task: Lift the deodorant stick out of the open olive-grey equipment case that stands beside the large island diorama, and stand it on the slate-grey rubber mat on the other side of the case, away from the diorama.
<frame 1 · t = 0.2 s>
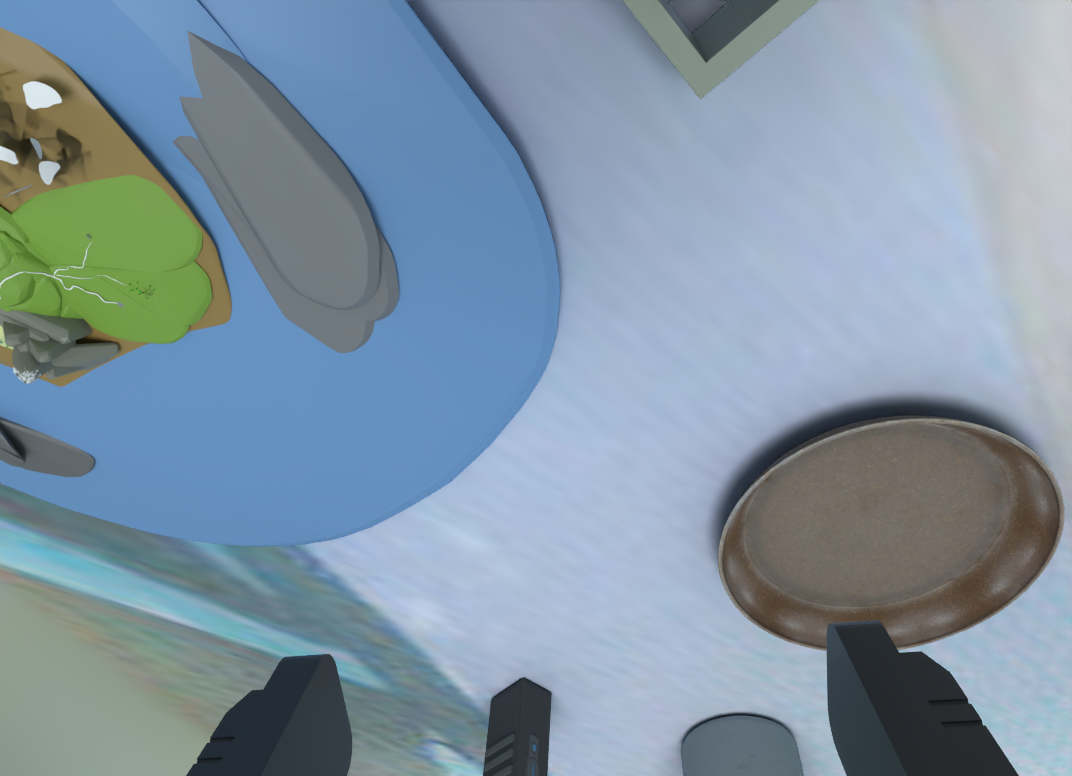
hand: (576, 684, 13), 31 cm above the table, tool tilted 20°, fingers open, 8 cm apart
water bottle: (739, 740, 69), on the table
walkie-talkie: (520, 692, 66), on the table
plant saucer: (870, 512, 53), on the table
island diorama: (140, 251, 44), on the table
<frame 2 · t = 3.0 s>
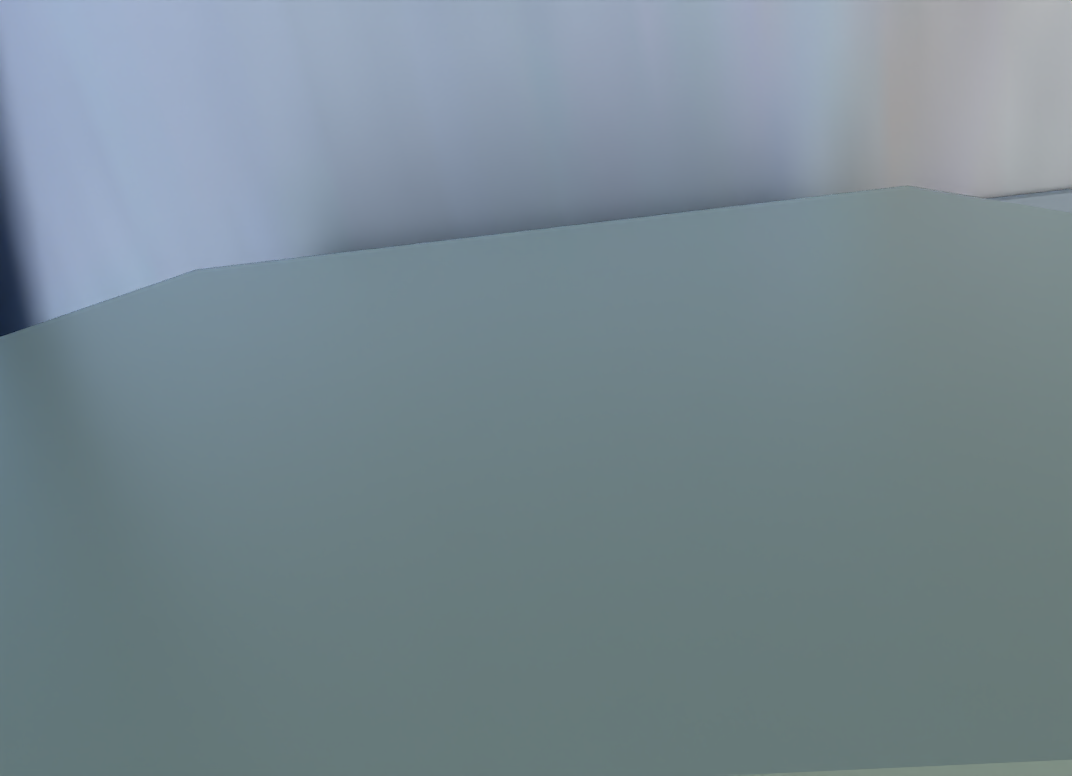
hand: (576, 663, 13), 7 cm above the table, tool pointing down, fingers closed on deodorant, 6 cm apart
case: (583, 485, 20), on the table
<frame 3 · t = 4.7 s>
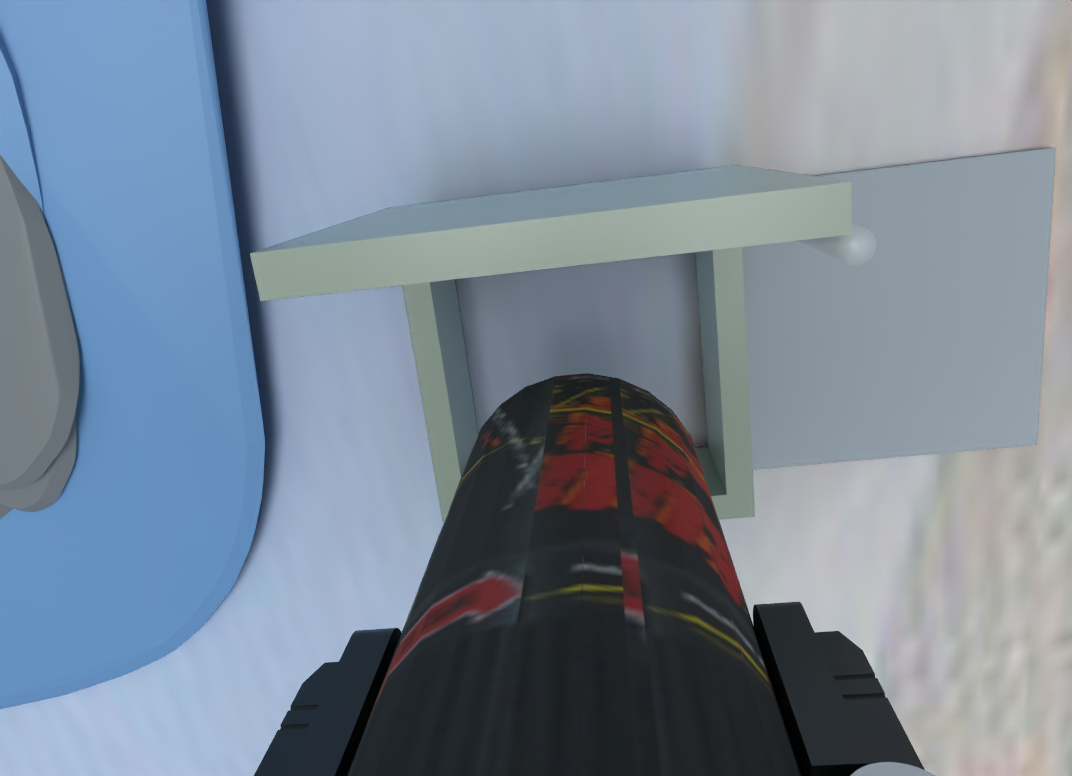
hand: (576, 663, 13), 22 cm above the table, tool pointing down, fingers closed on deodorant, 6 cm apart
case: (582, 348, 34), on the table
deodorant: (583, 482, 20), point 14 cm above the table, touching gripper
mat: (884, 317, 33), on the table
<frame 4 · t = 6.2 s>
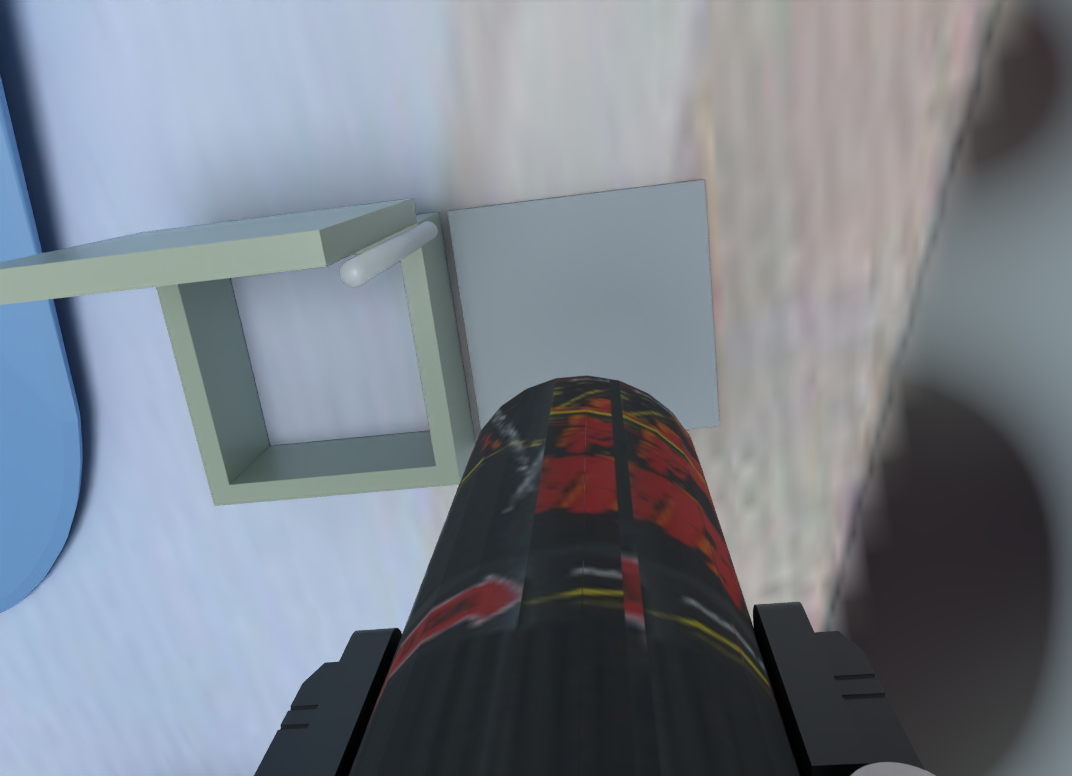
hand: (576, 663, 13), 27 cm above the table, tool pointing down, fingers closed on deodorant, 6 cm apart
case: (342, 345, 40), on the table
deodorant: (583, 484, 20), point 20 cm above the table, touching gripper
mat: (587, 319, 39), on the table
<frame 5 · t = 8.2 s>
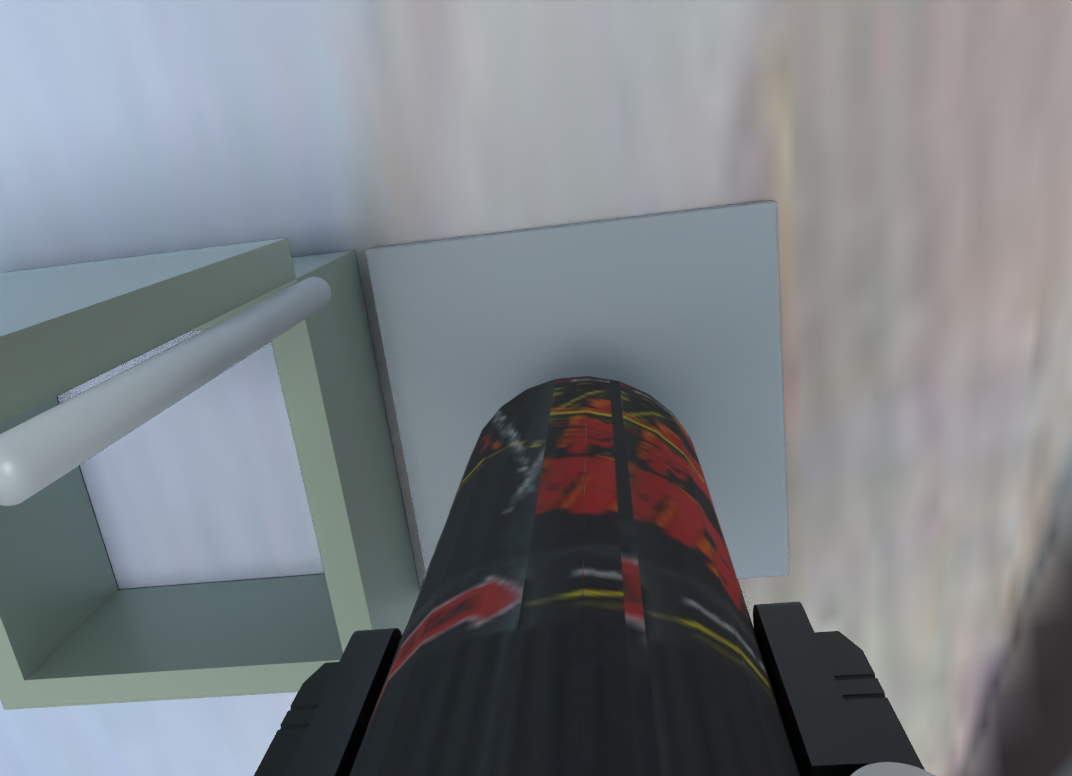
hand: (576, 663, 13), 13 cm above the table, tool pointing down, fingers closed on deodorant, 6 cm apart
case: (216, 449, 27), on the table
deodorant: (583, 484, 20), point 5 cm above the table, touching gripper
mat: (587, 414, 25), on the table
when the fingers open (9 cm above the table, at t = 9.5 s): deodorant drops 1 cm, resting on mat.
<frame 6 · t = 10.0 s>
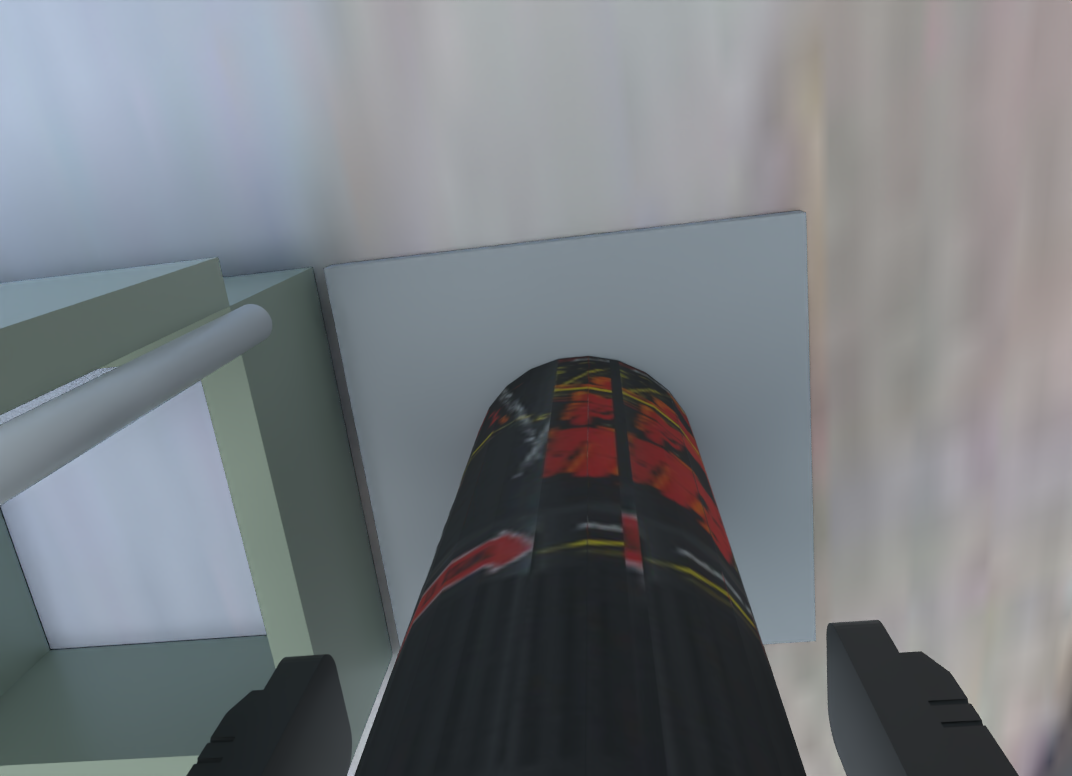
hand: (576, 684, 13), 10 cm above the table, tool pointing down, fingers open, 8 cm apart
case: (157, 493, 23), on the table
deodorant: (585, 459, 22), resting on mat
mat: (583, 456, 22), on the table
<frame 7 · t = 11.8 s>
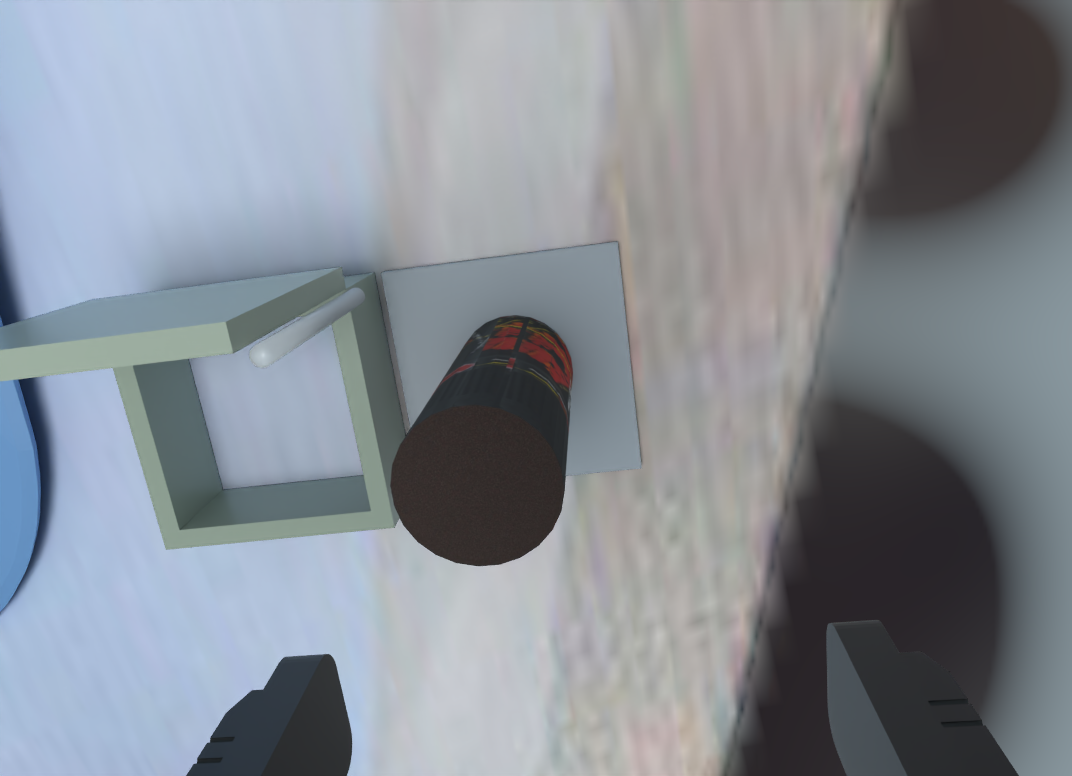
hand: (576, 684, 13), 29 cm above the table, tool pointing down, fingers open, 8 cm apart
case: (288, 396, 43), on the table
deodorant: (516, 370, 41), resting on mat
mat: (515, 370, 42), on the table
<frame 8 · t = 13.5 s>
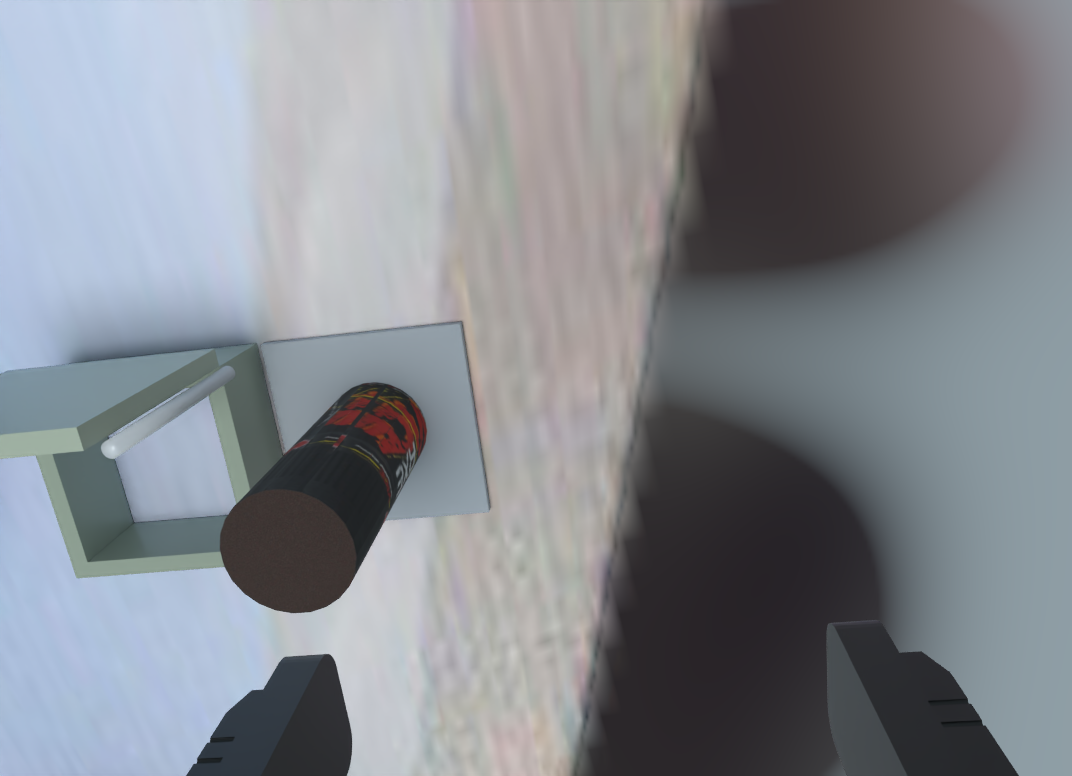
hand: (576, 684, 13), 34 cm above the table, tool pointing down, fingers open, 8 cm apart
case: (186, 445, 50), on the table
deodorant: (379, 427, 48), resting on mat
mat: (380, 427, 49), on the table
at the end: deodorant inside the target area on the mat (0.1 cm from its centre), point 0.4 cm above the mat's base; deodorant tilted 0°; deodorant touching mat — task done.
